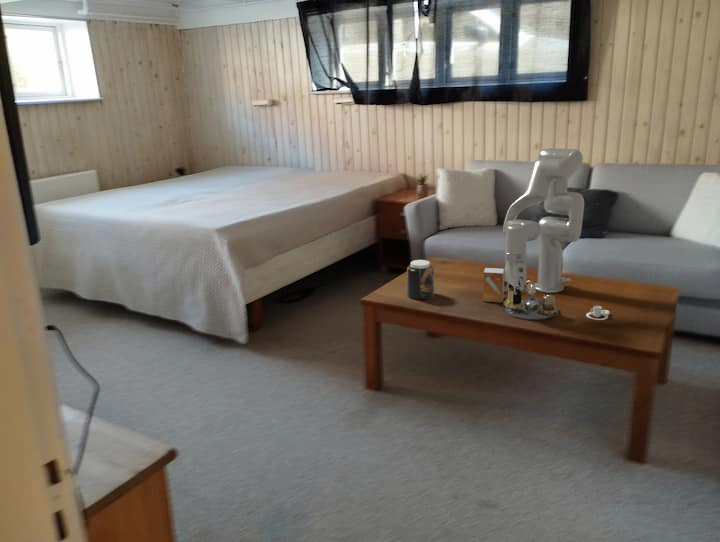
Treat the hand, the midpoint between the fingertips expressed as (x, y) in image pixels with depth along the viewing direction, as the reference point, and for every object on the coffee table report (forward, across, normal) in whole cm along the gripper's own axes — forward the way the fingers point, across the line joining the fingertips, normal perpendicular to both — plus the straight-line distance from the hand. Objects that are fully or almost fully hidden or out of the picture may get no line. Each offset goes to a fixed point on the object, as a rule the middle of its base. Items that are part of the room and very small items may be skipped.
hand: (513, 300), depth 235 cm
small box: (+5, +16, +1) cm, 17 cm away
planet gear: (+2, 0, 0) cm, 2 cm away
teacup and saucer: (+6, -16, -30) cm, 34 cm away
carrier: (+5, 0, -8) cm, 9 cm away
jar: (+5, +31, +28) cm, 42 cm away
